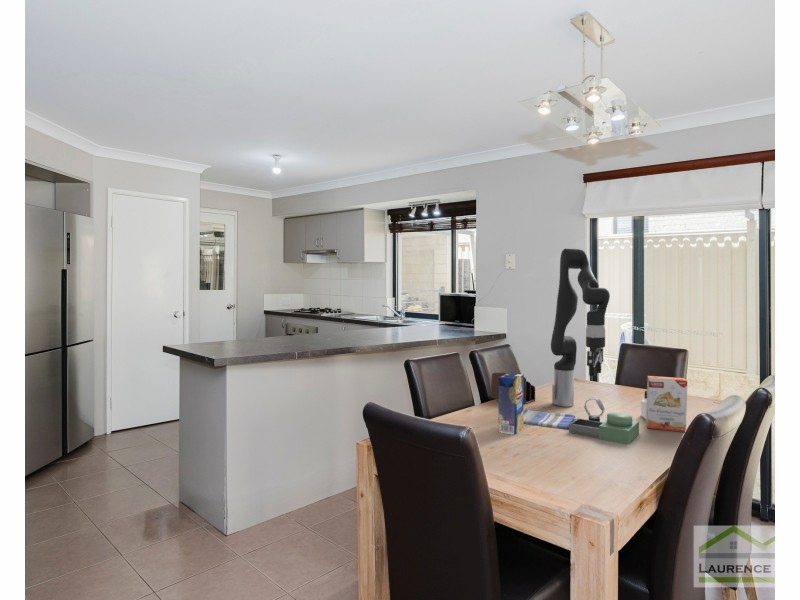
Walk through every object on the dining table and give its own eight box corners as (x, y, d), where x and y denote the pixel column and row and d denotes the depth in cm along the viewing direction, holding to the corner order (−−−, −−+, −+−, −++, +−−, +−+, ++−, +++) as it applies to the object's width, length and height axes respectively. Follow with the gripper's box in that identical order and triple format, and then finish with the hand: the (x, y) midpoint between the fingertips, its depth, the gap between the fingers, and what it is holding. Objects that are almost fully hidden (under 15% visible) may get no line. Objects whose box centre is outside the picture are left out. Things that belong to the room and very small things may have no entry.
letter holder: (525, 405, 246) (525, 376, 245) (490, 398, 260) (490, 371, 259) (535, 401, 253) (535, 373, 253) (501, 395, 267) (501, 368, 266)
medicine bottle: (663, 420, 218) (663, 393, 217) (645, 419, 219) (645, 392, 219) (658, 416, 225) (658, 389, 224) (640, 415, 226) (641, 388, 226)
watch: (604, 426, 209) (605, 400, 208) (584, 425, 212) (584, 398, 211) (604, 423, 214) (604, 397, 214) (584, 421, 217) (584, 396, 216)
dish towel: (523, 413, 232) (523, 407, 231) (577, 420, 220) (577, 414, 220) (511, 423, 216) (511, 416, 216) (568, 431, 205) (568, 424, 205)
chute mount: (569, 432, 201) (569, 423, 201) (577, 426, 209) (577, 418, 209) (599, 438, 194) (599, 429, 194) (607, 431, 202) (607, 423, 202)
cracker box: (647, 429, 206) (648, 377, 205) (645, 425, 212) (646, 375, 211) (686, 432, 201) (687, 380, 200) (684, 428, 207) (685, 377, 206)
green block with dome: (597, 438, 194) (598, 417, 193) (609, 428, 206) (610, 409, 206) (628, 444, 187) (628, 422, 186) (638, 433, 199) (639, 413, 199)
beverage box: (523, 427, 208) (523, 374, 207) (515, 435, 198) (515, 379, 197) (507, 425, 211) (507, 372, 210) (498, 432, 202) (498, 377, 201)
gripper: (591, 333, 219) (591, 371, 220) (580, 336, 208) (580, 376, 209) (609, 334, 215) (609, 373, 215) (599, 337, 204) (599, 378, 204)
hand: (595, 374), depth 212 cm, fingers open, 8 cm apart
